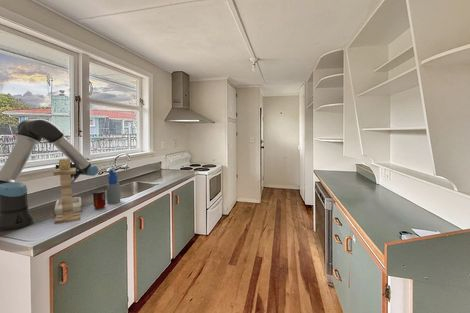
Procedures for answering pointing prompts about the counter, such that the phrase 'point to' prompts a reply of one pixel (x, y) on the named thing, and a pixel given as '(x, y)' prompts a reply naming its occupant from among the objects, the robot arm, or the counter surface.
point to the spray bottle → (113, 188)
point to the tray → (76, 206)
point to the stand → (66, 197)
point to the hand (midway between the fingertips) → (65, 161)
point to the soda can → (99, 199)
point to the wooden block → (64, 164)
